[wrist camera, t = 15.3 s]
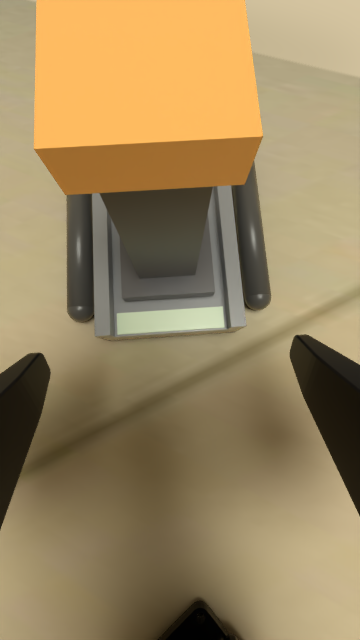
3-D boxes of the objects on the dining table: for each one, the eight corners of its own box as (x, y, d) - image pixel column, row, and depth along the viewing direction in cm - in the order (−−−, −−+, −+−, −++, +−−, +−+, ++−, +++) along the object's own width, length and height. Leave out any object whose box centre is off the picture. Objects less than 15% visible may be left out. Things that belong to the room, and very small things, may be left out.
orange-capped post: (213, 295, 15) (282, 168, 5) (124, 301, 15) (16, 183, 5) (205, 214, 15) (253, -37, 6) (121, 219, 15) (23, -28, 6)
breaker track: (269, 329, 17) (289, 323, 14) (73, 342, 17) (50, 339, 14) (243, 114, 19) (255, 69, 16) (72, 123, 19) (52, 80, 16)
